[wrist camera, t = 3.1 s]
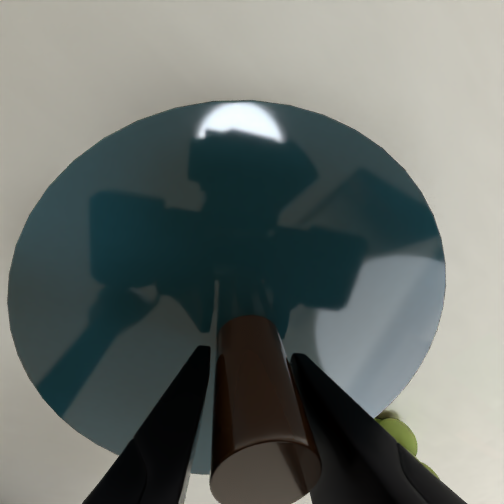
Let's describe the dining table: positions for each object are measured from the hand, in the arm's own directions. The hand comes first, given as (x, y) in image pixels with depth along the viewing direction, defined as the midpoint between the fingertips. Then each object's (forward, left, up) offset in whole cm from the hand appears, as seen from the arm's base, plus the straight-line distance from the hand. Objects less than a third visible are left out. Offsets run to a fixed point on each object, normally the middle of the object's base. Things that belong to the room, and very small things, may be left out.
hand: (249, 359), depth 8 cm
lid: (0, 0, -1) cm, 1 cm away
